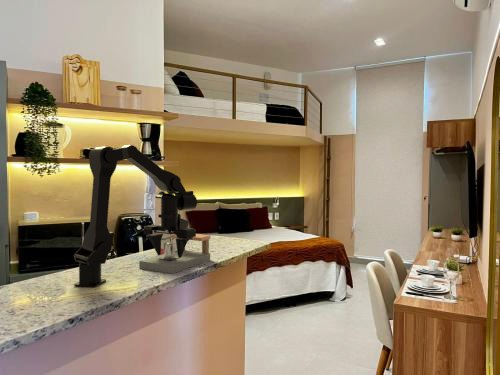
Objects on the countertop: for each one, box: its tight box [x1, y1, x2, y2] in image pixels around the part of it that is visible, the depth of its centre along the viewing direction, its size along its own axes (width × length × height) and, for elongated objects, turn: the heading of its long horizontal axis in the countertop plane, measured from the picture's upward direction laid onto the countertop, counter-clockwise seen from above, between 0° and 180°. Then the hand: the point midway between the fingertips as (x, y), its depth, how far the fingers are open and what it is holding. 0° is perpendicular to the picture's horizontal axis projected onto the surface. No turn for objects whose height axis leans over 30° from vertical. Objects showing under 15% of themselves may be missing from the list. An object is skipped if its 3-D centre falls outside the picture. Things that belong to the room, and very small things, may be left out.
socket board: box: [138, 233, 211, 274], centre depth 133 cm, size 22×14×9 cm, turn 152°
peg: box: [164, 242, 175, 261], centre depth 129 cm, size 4×4×8 cm
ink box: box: [159, 223, 177, 255], centre depth 150 cm, size 9×5×12 cm, turn 168°
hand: (169, 256), depth 129 cm, fingers open, 9 cm apart
